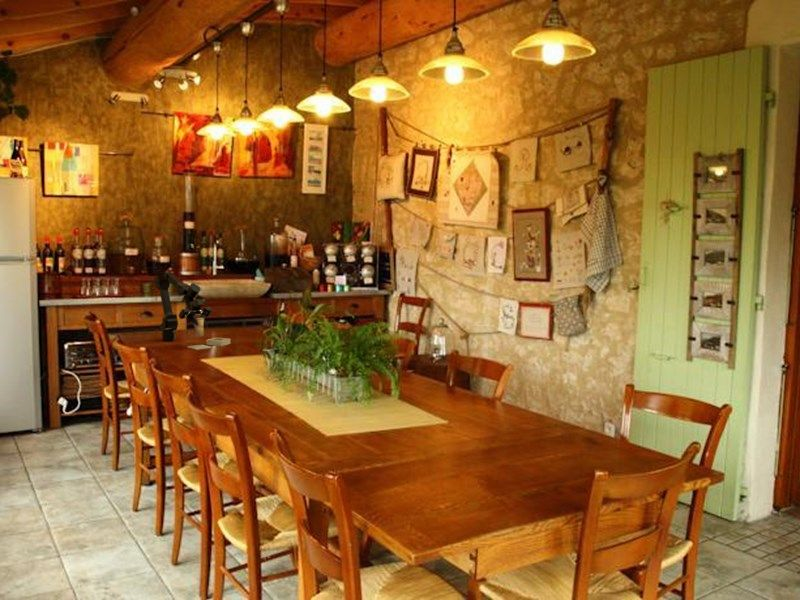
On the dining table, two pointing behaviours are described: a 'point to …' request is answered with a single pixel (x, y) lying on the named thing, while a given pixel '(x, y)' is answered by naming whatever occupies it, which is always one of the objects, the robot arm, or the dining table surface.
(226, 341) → the collar
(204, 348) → the pad
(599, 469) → the dining table surface
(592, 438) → the dining table surface
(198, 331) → the post
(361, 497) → the dining table surface
